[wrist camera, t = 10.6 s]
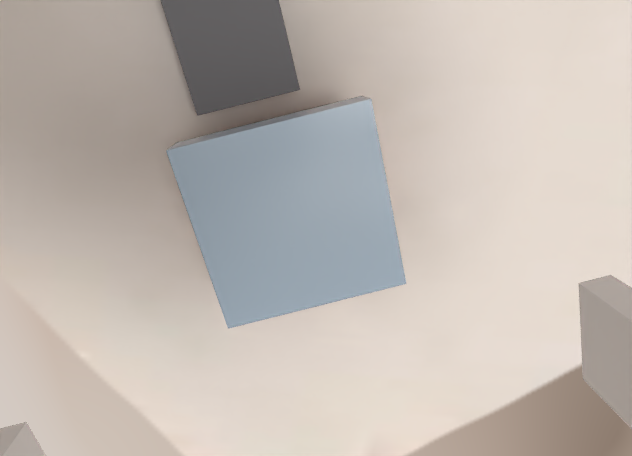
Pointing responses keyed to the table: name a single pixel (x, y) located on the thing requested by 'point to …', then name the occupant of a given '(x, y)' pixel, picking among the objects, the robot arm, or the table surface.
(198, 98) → the block
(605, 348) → the robot arm
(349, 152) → the blue square slab
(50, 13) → the table surface
